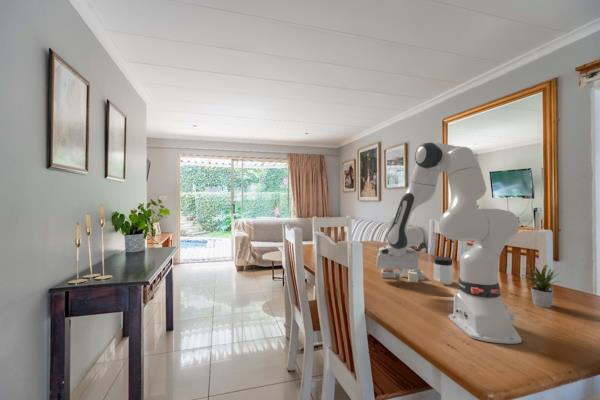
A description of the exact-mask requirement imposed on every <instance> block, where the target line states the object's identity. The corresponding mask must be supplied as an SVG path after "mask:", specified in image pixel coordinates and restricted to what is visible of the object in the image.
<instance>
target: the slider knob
mask: <svg viewBox="0 0 600 400" xmlns="http://www.w3.org/2000/svg"><path fill="white" fill-rule="evenodd" d="M407 280H408V282H409V283H419V280H418V274H417V272H408V271H407Z"/></svg>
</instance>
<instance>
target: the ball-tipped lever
mask: <svg viewBox="0 0 600 400" xmlns="http://www.w3.org/2000/svg"><path fill="white" fill-rule="evenodd" d="M407 272H408V269H403V271H402V273H401V274H400V277H401V278H404V277H405V275H406V273H407Z"/></svg>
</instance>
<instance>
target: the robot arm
mask: <svg viewBox="0 0 600 400" xmlns="http://www.w3.org/2000/svg"><path fill="white" fill-rule="evenodd" d="M414 160H415V163H416V164H415V166H414V168H413V172H412V174H411V179H410V182H409V186H408V188H407V190H406V192H405V193H404V195H402V197H401V200H400V202H399V204H398V207H397V210H396V213H395V216H394V218H391V219H389V220H388V223H387V235H386V239H387V245H384V246H381V247H379V248H378V253H377V256H376V261H375V263H376V264H375V265H376V267H377V268H378V269H384V268H392V271H393V273H394V277H396V278H399V279H400V278H401V273H402V271H403V269H407V270H412V269H416V270H417V269H418V268H420V266H419V259H420V253H419V252H418V251H417V250H415V249H414V250H413V249H412V250H410V249H407V248H410V247H415V246H419V245H421V244H423V242H424V240H425V234H424V231H423V229H422V228H421V227H420V226H417V225H414V224H412V223H410V222H409V221H410V217H411V215H412V213H413V212H414V210H415V209H416V208H418V207H419V206H421V205H423V204H425V203H427V202H429V201H430V200H431V199H432V198H433V197H434V195H435V192H436V190H437V189H436V188H437V184H438V179H439V176H440V174H441V173H443V172H445V173H446V176H447V180H448V184H449V189H450V194H451V196H450V197H451V200H450V204H449V206H448V208H447V210H445V211H444V212H443V214H441V216H440V219H439V221H438V227H439V231H440V232H441V234H442V236H443V237H444V238H446V239H448V240H453V241H461V242H473V241H474V242H473V244H472V245H471V247H470V248H469V249H468V250H467V251H465V252H463V253H462V254H461V256H460V258H459V277H458V281H457V282H458V284H457V285H458V291H457V292H456V293H455V294H454V297H453V311H452V312H453V313H450V314H449V315H448V319H449V320H450V321H451V322H452V323H454V324H455V325H456V326H457V327H458V328H459V329H460V330H461V331H463V332H464V333H465V334H466V335H467V336H469V337H470V338H471V339H475V340H479V341H483V342H489V343H496V344H507V345H508V344H520V343H522V337H521V336H520V334H519V332H518V331H517V330H516V328H515V327H514V325H513V324H512V321H514V320H515V314H514V313H513V312H510V311H508V305H507V304H505V302H504V300H503V298H502V297H501V295H502V294H501V287H500V283H499V281H498V278H499V276H498V274H499V260H500V257H501V254H502V252H503V249H504V248H505V246H506V244H507V243H508V242H509V241H510V240H511V239H513V238H514V237H516V235H517V234H518V233H519V229H520V221H519V218H518V217H517V215H516V214H515V213H513V212H512V211H509V210H505V209H500V208H479V207H478V205H477V202H478V200H480V199H481V198H482V197H483V196H485V194H486V192H487V185H486V182H485V178H484V175H483V172H482V167H481V165H480V163H479V160H478V158H477V157H476V155H475V153H474V152H473V150H472V149H471V148H470V147H467V146H460V145H459V146H458V145H452V144H447V143H443V142H442V143H440V142H437V143H436V142H425V143H421V144H420V145H419V146H418V148H417V149H416V151H415V154H414ZM396 269H398V270H399V272H396ZM394 271H395V272H394Z"/></svg>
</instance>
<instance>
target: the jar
mask: <svg viewBox="0 0 600 400" xmlns="http://www.w3.org/2000/svg"><path fill="white" fill-rule="evenodd" d="M433 260H434V262H433V280H434V281H438V282H439V283H442V284H443V285H448V286H449V285H452V284H454V262H453V259H452V258H451V257H447V256H436V257H434V259H433Z"/></svg>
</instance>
